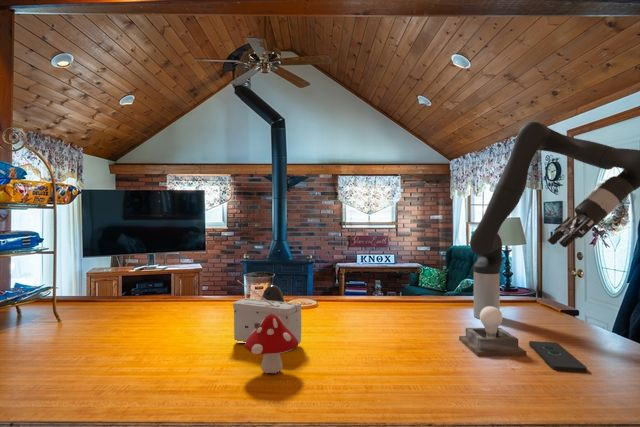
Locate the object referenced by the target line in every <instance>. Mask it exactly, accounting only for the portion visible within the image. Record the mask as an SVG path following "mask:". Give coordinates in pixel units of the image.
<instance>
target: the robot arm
mask: <svg viewBox="0 0 640 427" xmlns="http://www.w3.org/2000/svg"><path fill="white" fill-rule="evenodd" d="M511 150H512V151H511V153H510V156H509V158H508V160H507V162H506V165H505V167H504V169H503V170H502V173H501V175H500V178H499V180H498V181H497V183H496V186H495V188H494V190H493V193H492V196H491V197H490V200H489V202H488V205H487V207H486V209H485V212H484V214H483V216H482V218H481V220H480V221H479V223H478V225H477V227H476V229H475V230H474V231H473V234H472V235H471V237H470V240H469V246H470V249H471V251H472V252H473V253H474V254H475V255H477V260H476V261H475V262H474V264H473V317H475V318H476V319H479V320H480V312H481V310H482V309H483V308H485V307H487V306H493V307H496V308H497V309H499V310H500V309H501V308H500V306H501V305H500V304H501V303H500V302H501V301H500V299H501V296H500V295H501V294H500V293H501V291H500V288H501V287H500V282H501V281H500V269H501V265H502V262H503V261H502V259H503V258H502V257H503V242H502V238H501V236H500V234H498V233H499V231H500V229H501V226H502V225H503V224H504V222H505V221H506V220H507V218H508V217H509V216H510V215H511V214H512V212H513V211H514V210H515V209H516V207H517V206H518V204H519V202H520V200H521V199H522V196H523V194H524V192H525V189H526V186H527V181H528V176H529V169H530V167H531V163H532V161H533V159H534V157H535V155H536V154H537V151H540V152H541V151H543V152H549V153H554V154H559V155H561V156H562V155H563V156H565V157H569V158H571V159H572V160H575V161H577V162H581V163H584V164H587V165H590V166H593V167H596V168H599V169H603V170H612V169H613V168H618V169H623V170H622V171H621V172H620V173H619V174H618V175H615V176H611V177H609V178H607V179H606V180H605V181H604V182H603V183H602V184H601V185H599V186H598V188H597V189H595V190H594V191H592V192H591V193H590V194H589V195H588V196H587V197H585V199H584V200H582V201H581V202H580V203H579V204H578V205H577V206H576V207H575V208H574V213H575V214H576V215H575V216H574V217H571V216H568V217H567V218H565V220H563V221H562V222H561V223H560V224H559V225H558V226H557V227H556V228H555V229H554V231H555V233H553V234H552V235H551V236H550V237H549V238H548V239H547V241H548V243H549V244H550V245H554V246H555V244H557V242H559V244H560V245H561V246H562V247H563V248H567V247H568V246H569V245H570V244H571V243H572V242H574V240H577V239H582V238H583V237H584V236H586V235H587V234H588V232H590V230H592V229H593V228H594V227H595V226H598V225H599V224H600V223H601V222H602V221H603V220H605V218H606V217H608V216H609V215H610V214H611V213H612V212H613V211H614V210H615V209H616V208H617V207H618V205H619V204H621V202H622V201H624V200H625V199H626V198H627V197H628V196H629V195H630V194H631V193H632V192H634V191H636V190H638V189H639V188H640V149H633V148H622V147H621V148H620V147H614V146H609V145H607V144H604V143H603V144H602V143H600V142H594V141H591V140H586V139H580V138H575V137H571V136H568V135H565V134H562V133H560V132H558V131H556V130H554V129H552V128H550V127H548V126H547V125H546V124H543V123H541V122H537V121H531V122H528V123H524V125H523V126H522V127H521V128H520V129H519V130H518V133H517V135H516V138H515V141H514V144H513V148H512V149H511ZM559 240H560V241H559ZM500 311H501V310H500Z"/></svg>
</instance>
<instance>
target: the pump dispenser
mask: <svg viewBox="0 0 640 427" xmlns="http://www.w3.org/2000/svg"><path fill="white" fill-rule="evenodd" d="M262 297H263V298H265V299H266V300H269V301H278V302H286V301H285V298H284V295H283V293H282V290H281V289H280V288H279V286H277V285H273V284H270V285H269V286H267V287H266V288H265V289H264V290H263V293H262ZM260 300H263V299H262V298H260Z"/></svg>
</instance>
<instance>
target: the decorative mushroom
mask: <svg viewBox="0 0 640 427" xmlns="http://www.w3.org/2000/svg"><path fill="white" fill-rule="evenodd" d="M243 345H244V348H245V349H246V350H247V351H248V352H250V353H252V354H254V355H263V357H262V361H261V364H260V368H261V371H262V372H263V373H264V372H265V374H267V373H275V374H278V373H279V371H280V372H281V371H282V369H283V365H284V364H283V361H282V356H281V354H284V353H286V352H290V351H292V350H294V349H295V348H297V347H298V345H299V344H298V340H297V338H296V337H295V336H294V335H293V334H292V333H291V332H290V331H289V330H288V329H287V328H286V327H285V326H284V325H283V322H282V320H281V318H280V317H278V316H276V315H273V314H270V315H268V316H266V317H265V318H264V319H263V321H262V322H261V324H260V326H259V327H258V328H257V329H255V330H254V331H253V332H252V333H251V335H250V336H249V338H248V339H247V341H246V343H245V344H243ZM277 372H278V373H277Z"/></svg>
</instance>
